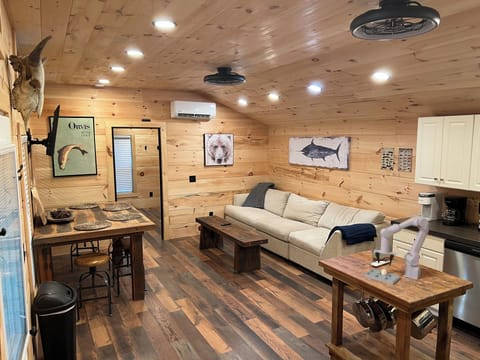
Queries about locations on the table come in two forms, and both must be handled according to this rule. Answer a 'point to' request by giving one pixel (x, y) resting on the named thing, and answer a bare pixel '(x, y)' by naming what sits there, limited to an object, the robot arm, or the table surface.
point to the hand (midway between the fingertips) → (384, 264)
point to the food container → (382, 256)
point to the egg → (384, 272)
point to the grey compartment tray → (382, 276)
